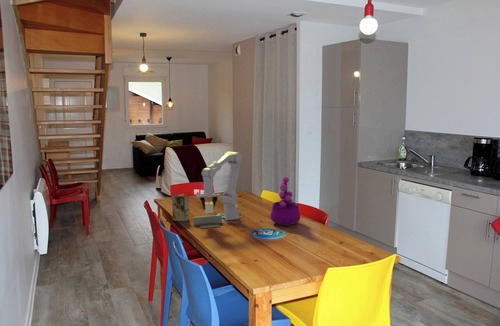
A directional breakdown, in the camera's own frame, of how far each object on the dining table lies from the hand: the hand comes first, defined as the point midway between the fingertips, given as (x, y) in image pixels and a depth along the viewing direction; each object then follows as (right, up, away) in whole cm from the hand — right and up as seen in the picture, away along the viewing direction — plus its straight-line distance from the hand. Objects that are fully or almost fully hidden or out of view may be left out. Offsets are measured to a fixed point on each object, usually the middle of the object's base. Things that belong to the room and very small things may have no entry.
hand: (208, 209), depth 256 cm
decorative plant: (+48, -10, +6) cm, 49 cm away
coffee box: (-19, -9, +14) cm, 26 cm away
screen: (-1, -10, +5) cm, 11 cm away
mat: (0, -11, +1) cm, 11 cm away
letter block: (0, -2, +1) cm, 2 cm away
